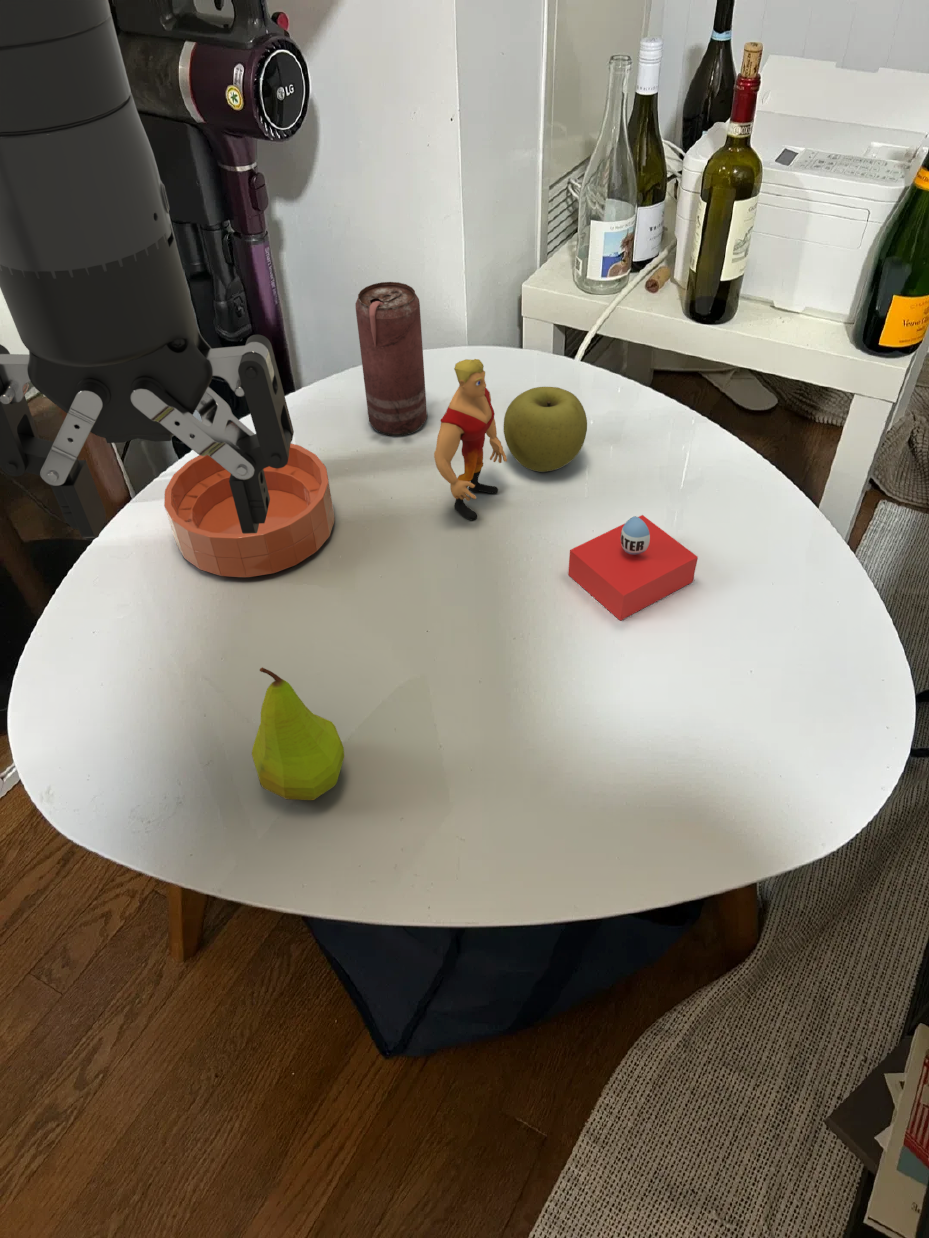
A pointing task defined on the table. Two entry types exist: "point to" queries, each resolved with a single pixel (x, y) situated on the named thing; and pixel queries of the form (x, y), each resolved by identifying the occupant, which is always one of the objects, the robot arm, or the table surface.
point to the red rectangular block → (632, 566)
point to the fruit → (295, 746)
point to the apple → (545, 428)
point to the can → (392, 357)
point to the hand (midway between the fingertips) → (174, 526)
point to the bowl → (281, 542)
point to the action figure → (467, 435)
